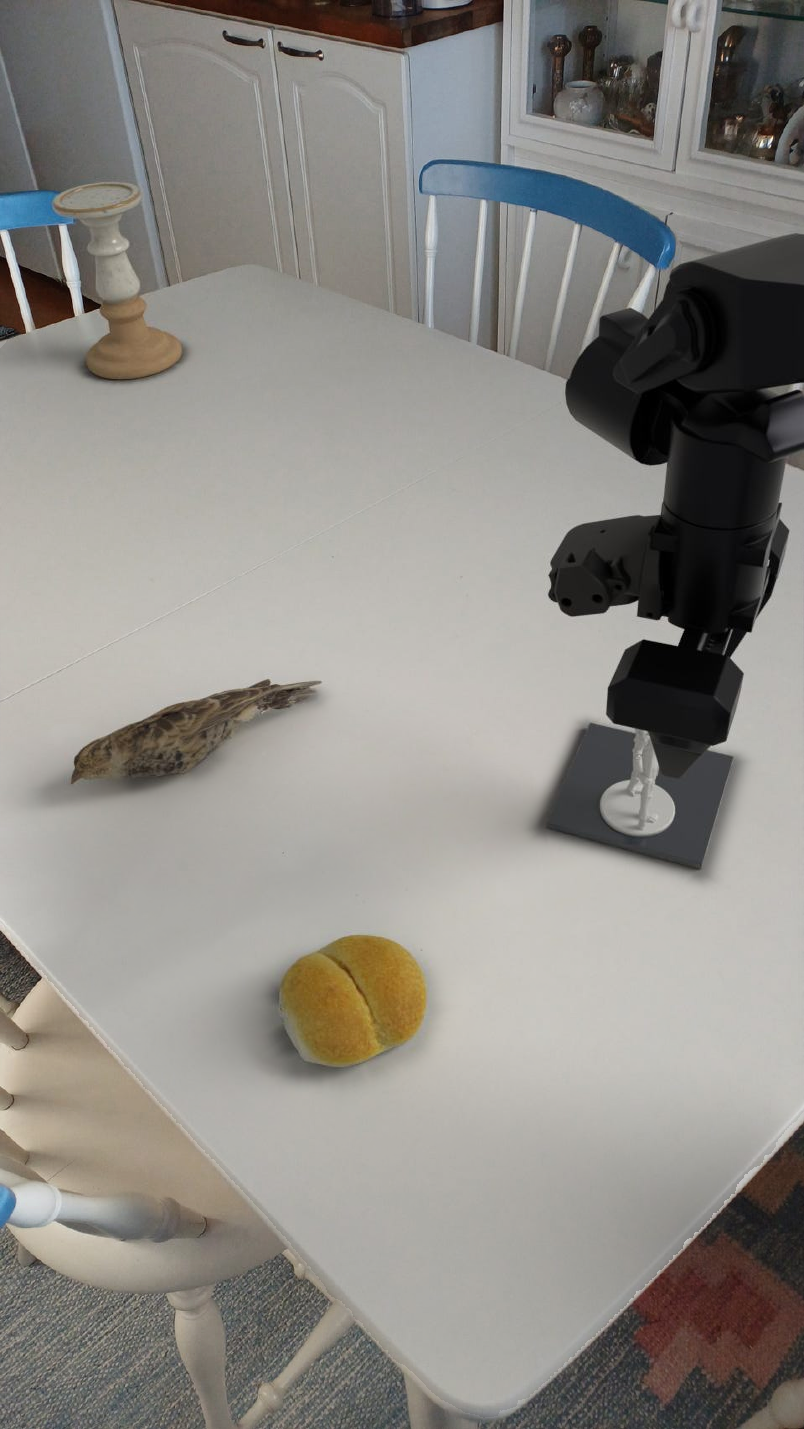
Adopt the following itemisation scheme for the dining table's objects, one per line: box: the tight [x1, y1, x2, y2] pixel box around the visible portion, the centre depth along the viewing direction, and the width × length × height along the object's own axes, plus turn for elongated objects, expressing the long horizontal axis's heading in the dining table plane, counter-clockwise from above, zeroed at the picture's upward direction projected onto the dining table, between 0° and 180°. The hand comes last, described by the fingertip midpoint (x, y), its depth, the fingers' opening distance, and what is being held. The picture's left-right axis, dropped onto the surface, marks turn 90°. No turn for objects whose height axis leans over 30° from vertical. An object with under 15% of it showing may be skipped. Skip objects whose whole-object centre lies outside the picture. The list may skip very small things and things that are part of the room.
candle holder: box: [51, 181, 183, 380], centre depth 133 cm, size 12×12×20 cm
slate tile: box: [545, 722, 734, 870], centre depth 78 cm, size 11×11×1 cm
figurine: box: [600, 728, 675, 837], centre depth 73 cm, size 5×5×12 cm
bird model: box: [69, 678, 323, 786], centre depth 83 cm, size 21×6×5 cm
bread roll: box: [277, 934, 428, 1068], centre depth 66 cm, size 8×9×4 cm
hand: (688, 725), depth 66 cm, fingers open, 9 cm apart
